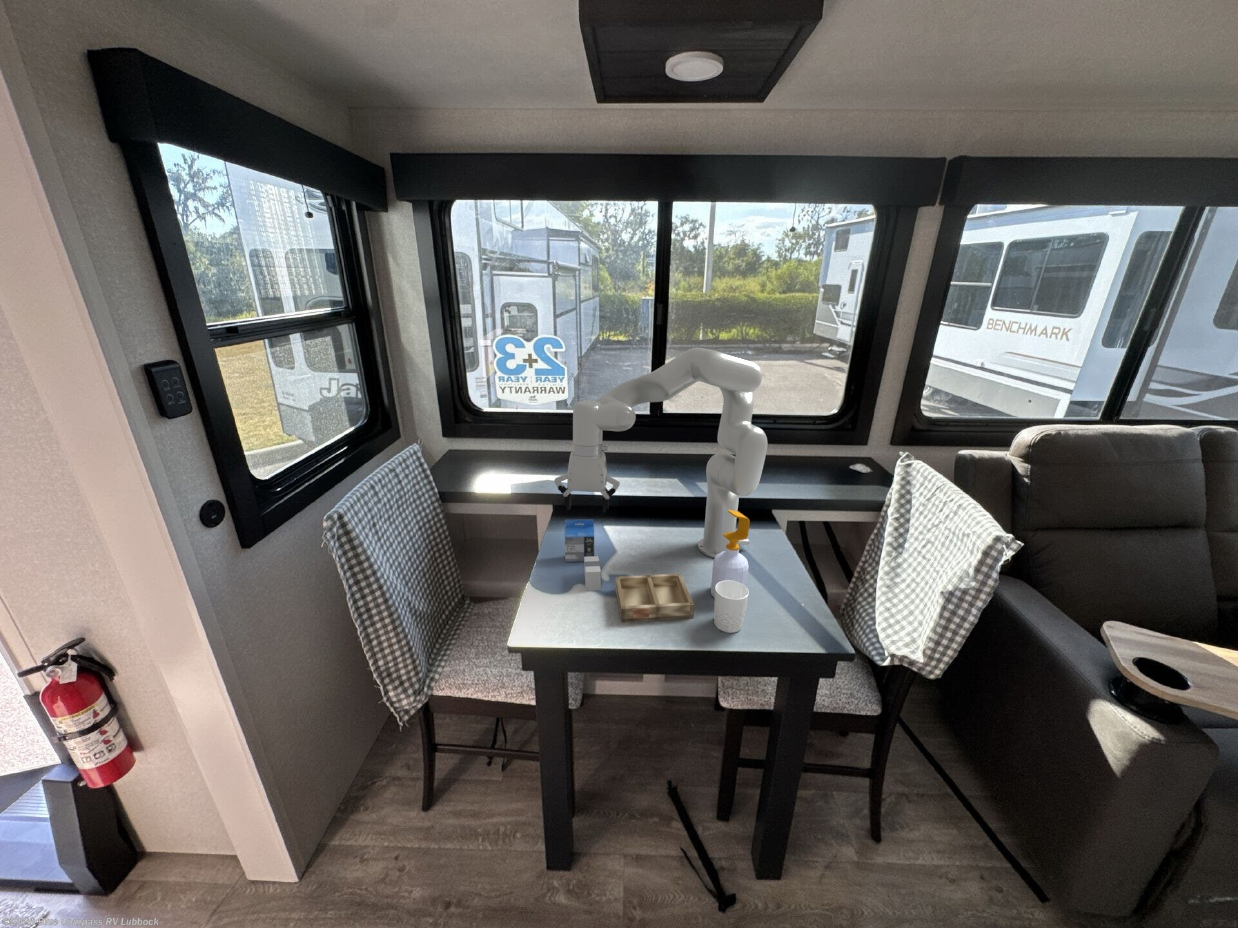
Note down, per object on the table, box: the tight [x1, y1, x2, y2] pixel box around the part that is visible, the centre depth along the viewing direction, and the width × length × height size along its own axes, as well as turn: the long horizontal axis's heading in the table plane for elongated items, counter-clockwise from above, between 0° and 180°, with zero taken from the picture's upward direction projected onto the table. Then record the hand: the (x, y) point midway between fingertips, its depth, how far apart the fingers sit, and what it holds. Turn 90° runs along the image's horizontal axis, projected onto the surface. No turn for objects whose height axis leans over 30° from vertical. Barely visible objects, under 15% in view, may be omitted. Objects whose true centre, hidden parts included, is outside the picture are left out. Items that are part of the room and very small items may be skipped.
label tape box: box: [564, 519, 595, 563], centre depth 142 cm, size 9×4×12 cm, turn 94°
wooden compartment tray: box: [614, 573, 695, 624], centre depth 123 cm, size 18×15×4 cm
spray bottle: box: [710, 510, 751, 599], centre depth 124 cm, size 9×9×25 cm
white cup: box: [713, 580, 750, 634], centre depth 115 cm, size 8×8×10 cm
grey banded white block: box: [583, 555, 602, 592], centre depth 131 cm, size 4×8×6 cm, turn 7°
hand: (586, 509), depth 128 cm, fingers open, 9 cm apart
